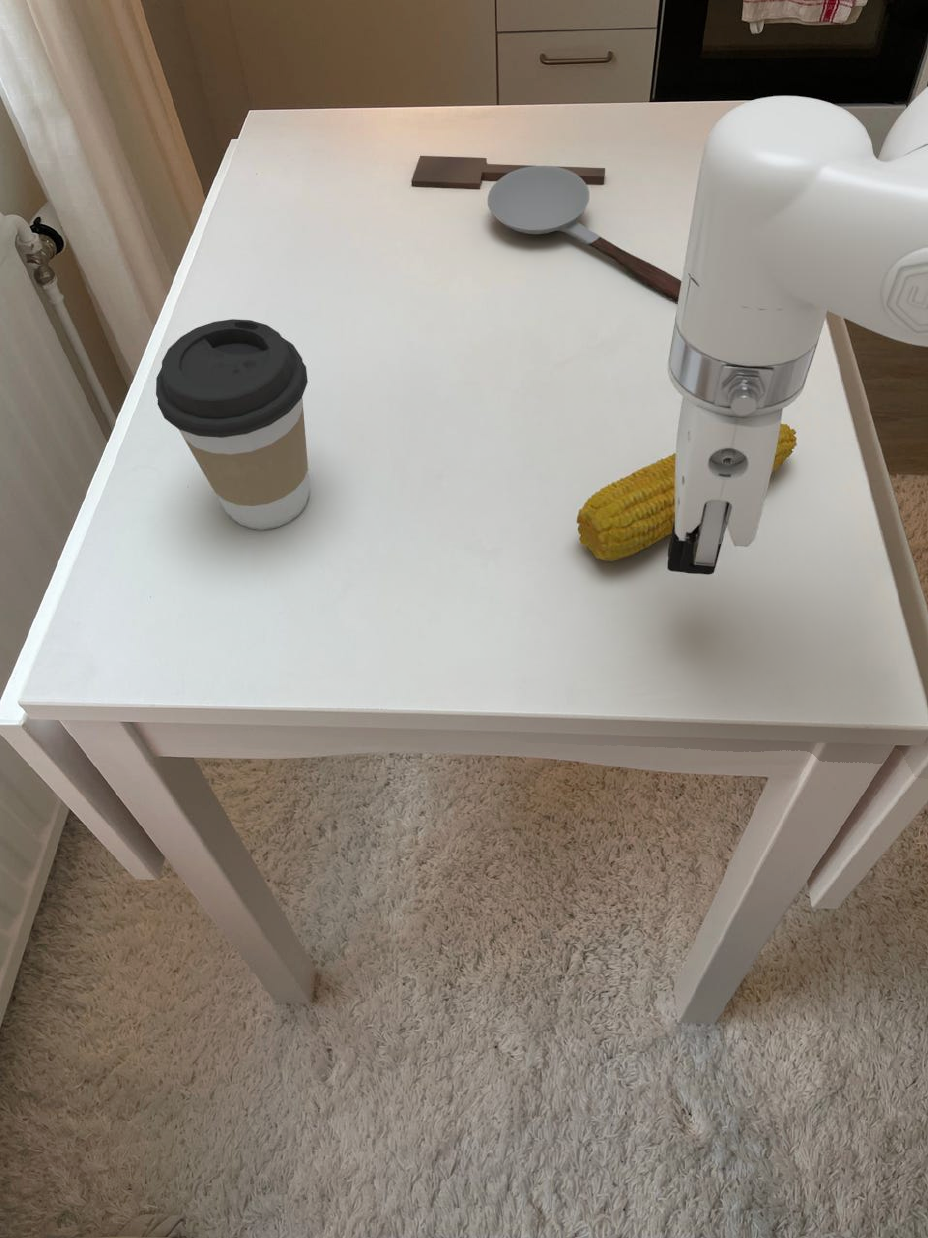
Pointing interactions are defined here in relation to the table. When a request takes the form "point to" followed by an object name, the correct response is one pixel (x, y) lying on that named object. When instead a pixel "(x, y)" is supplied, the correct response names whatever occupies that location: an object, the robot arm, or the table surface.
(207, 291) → the table surface
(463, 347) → the table surface
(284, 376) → the coffee cup
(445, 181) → the spatula
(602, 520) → the food
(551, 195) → the spoon
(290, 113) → the table surface
